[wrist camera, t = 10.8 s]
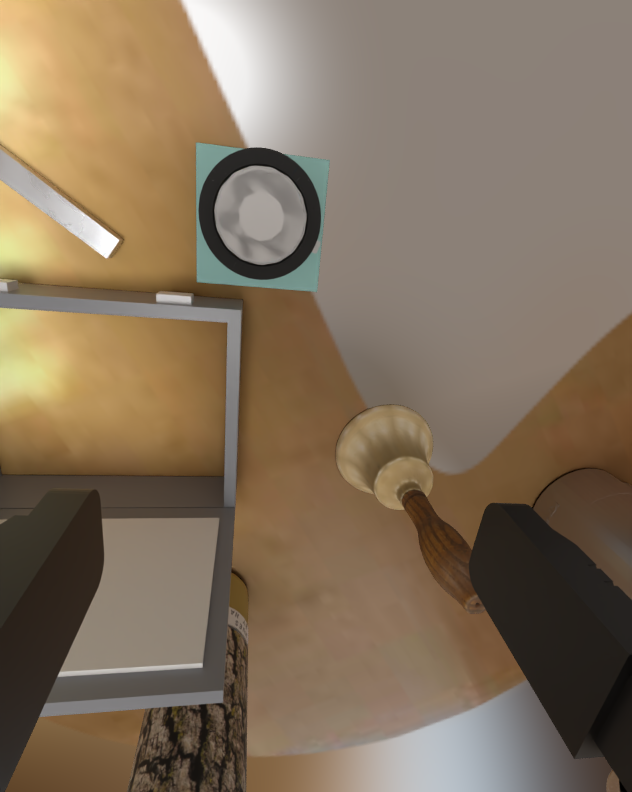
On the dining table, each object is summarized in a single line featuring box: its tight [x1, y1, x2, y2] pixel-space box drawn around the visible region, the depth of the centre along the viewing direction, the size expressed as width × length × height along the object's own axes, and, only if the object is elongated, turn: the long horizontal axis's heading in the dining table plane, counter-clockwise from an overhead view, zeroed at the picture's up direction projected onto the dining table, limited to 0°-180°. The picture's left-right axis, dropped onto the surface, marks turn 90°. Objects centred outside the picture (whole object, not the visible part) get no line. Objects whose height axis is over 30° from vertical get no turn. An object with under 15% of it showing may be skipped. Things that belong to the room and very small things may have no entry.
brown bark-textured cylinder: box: [127, 573, 248, 792], centre depth 27 cm, size 7×7×25 cm
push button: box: [198, 148, 321, 280], centre depth 22 cm, size 7×5×10 cm
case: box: [0, 279, 243, 717], centre depth 22 cm, size 19×16×17 cm
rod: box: [0, 144, 124, 258], centre depth 25 cm, size 10×1×1 cm, turn 49°
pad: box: [196, 143, 330, 292], centre depth 27 cm, size 8×8×1 cm
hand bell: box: [336, 404, 486, 614], centre depth 28 cm, size 8×8×16 cm
